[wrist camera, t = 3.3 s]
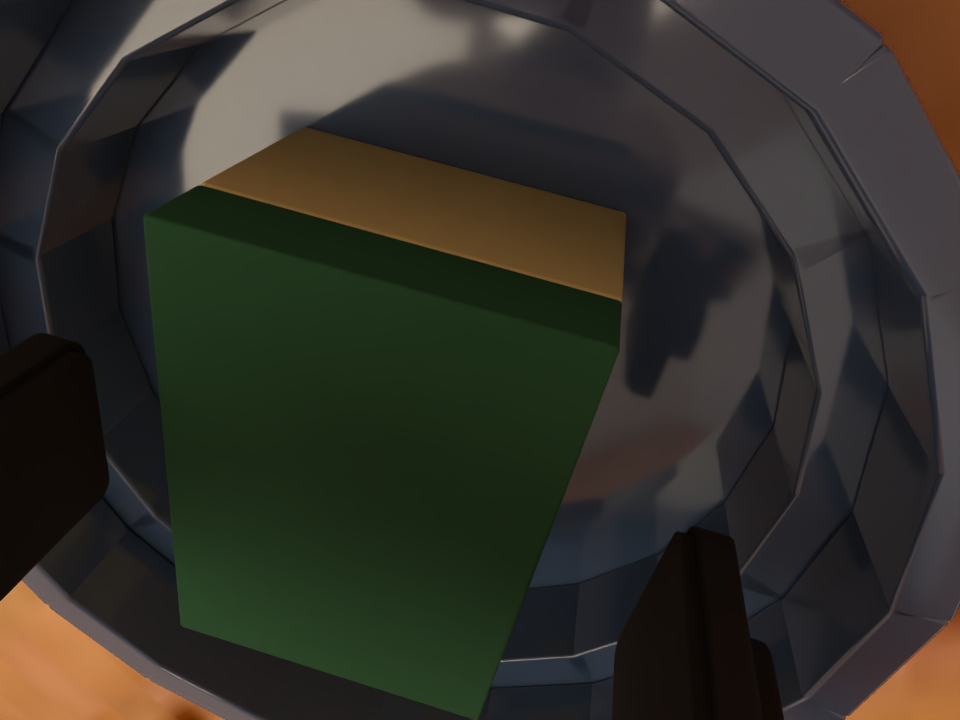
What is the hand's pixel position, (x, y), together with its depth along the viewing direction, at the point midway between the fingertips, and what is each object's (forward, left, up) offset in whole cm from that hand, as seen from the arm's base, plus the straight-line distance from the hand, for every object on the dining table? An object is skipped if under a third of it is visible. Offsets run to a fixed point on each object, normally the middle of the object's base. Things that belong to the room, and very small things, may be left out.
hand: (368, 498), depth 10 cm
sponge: (0, 0, -4) cm, 4 cm away
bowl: (0, 0, -4) cm, 4 cm away
